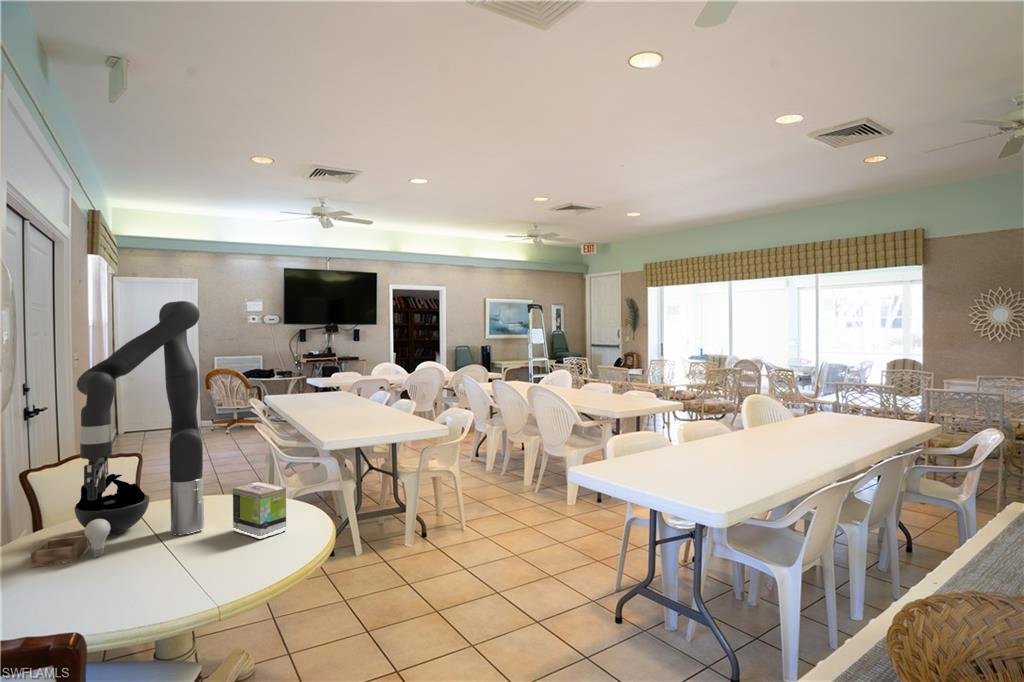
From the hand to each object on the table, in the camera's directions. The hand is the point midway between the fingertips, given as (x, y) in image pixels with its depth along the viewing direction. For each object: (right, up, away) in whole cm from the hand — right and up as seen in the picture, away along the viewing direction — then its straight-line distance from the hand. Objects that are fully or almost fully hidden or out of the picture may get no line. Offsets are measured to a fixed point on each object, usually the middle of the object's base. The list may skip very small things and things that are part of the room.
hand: (96, 496), depth 165 cm
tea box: (+38, -18, +21) cm, 47 cm away
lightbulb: (0, -18, 0) cm, 18 cm away
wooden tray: (-11, -18, 0) cm, 21 cm away
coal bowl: (-9, -18, +20) cm, 28 cm away
